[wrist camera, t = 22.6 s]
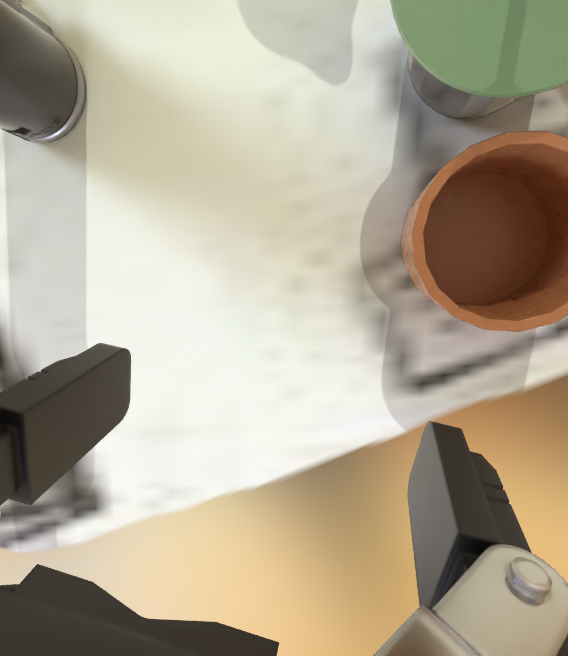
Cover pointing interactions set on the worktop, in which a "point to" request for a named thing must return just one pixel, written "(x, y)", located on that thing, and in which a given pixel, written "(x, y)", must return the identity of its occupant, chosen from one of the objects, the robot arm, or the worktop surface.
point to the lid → (488, 43)
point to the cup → (450, 95)
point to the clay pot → (495, 233)
